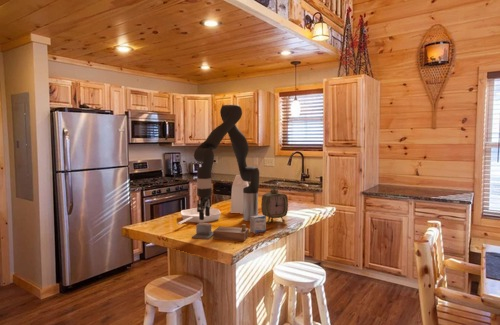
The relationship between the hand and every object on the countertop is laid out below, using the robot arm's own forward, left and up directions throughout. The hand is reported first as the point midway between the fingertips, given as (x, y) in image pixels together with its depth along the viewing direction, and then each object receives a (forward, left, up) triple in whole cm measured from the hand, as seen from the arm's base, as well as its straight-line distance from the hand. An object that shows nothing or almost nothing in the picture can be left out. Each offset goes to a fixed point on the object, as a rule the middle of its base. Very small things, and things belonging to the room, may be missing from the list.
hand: (204, 217), depth 174 cm
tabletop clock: (-38, +30, -9) cm, 49 cm away
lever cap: (0, 0, -9) cm, 9 cm away
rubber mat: (0, 0, -9) cm, 9 cm away
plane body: (0, +14, -9) cm, 17 cm away
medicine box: (-14, +25, -10) cm, 30 cm away
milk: (-61, +3, -10) cm, 62 cm away
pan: (-28, -17, -10) cm, 34 cm away
